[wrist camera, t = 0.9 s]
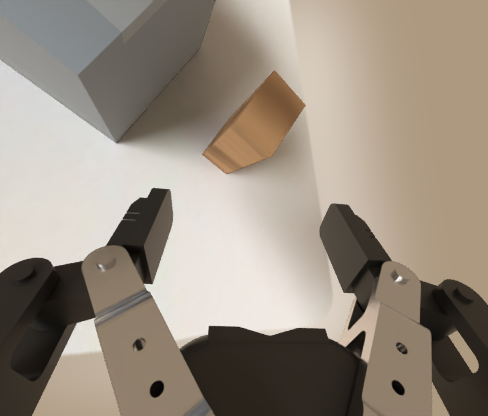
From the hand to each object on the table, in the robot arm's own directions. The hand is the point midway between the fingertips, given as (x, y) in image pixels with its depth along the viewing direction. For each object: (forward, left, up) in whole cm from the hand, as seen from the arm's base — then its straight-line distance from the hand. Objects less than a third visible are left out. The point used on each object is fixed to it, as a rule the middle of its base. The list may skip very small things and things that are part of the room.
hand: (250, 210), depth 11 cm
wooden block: (+4, +8, -18) cm, 20 cm away
